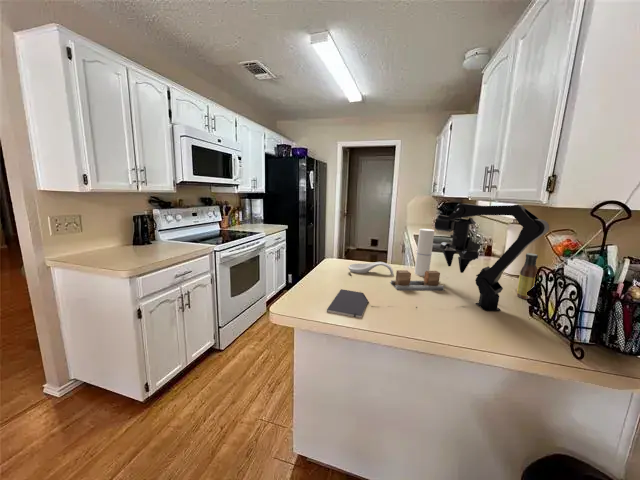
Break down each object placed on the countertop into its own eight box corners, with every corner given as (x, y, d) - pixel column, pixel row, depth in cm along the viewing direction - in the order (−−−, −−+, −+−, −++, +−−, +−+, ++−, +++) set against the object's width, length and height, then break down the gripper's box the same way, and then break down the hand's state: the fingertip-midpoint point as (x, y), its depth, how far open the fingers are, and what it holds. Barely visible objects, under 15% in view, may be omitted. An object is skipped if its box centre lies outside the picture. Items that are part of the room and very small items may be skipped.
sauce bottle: (527, 295, 125) (536, 252, 121) (536, 301, 119) (546, 256, 115) (512, 294, 126) (520, 251, 122) (520, 299, 120) (529, 255, 116)
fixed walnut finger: (409, 287, 124) (411, 272, 123) (397, 287, 123) (399, 272, 122) (406, 284, 127) (408, 270, 126) (395, 284, 127) (396, 270, 125)
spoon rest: (346, 275, 143) (347, 261, 141) (349, 269, 154) (350, 256, 152) (393, 280, 137) (394, 267, 136) (393, 273, 149) (394, 261, 147)
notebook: (340, 292, 120) (326, 313, 100) (341, 289, 120) (326, 309, 100) (370, 297, 116) (361, 319, 97) (370, 293, 116) (361, 315, 96)
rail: (444, 293, 123) (445, 287, 122) (397, 293, 120) (397, 287, 120) (433, 285, 132) (434, 279, 132) (389, 285, 130) (389, 279, 130)
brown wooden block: (438, 287, 125) (440, 273, 124) (426, 287, 125) (428, 272, 123) (434, 285, 129) (436, 270, 127) (422, 285, 128) (424, 270, 127)
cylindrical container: (414, 277, 143) (419, 230, 138) (413, 273, 149) (419, 228, 145) (429, 279, 141) (435, 231, 136) (427, 275, 148) (433, 229, 143)
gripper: (494, 238, 107) (487, 276, 110) (465, 230, 126) (460, 263, 129) (467, 237, 106) (461, 276, 109) (441, 229, 124) (437, 263, 127)
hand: (455, 269), depth 119 cm, fingers open, 9 cm apart
